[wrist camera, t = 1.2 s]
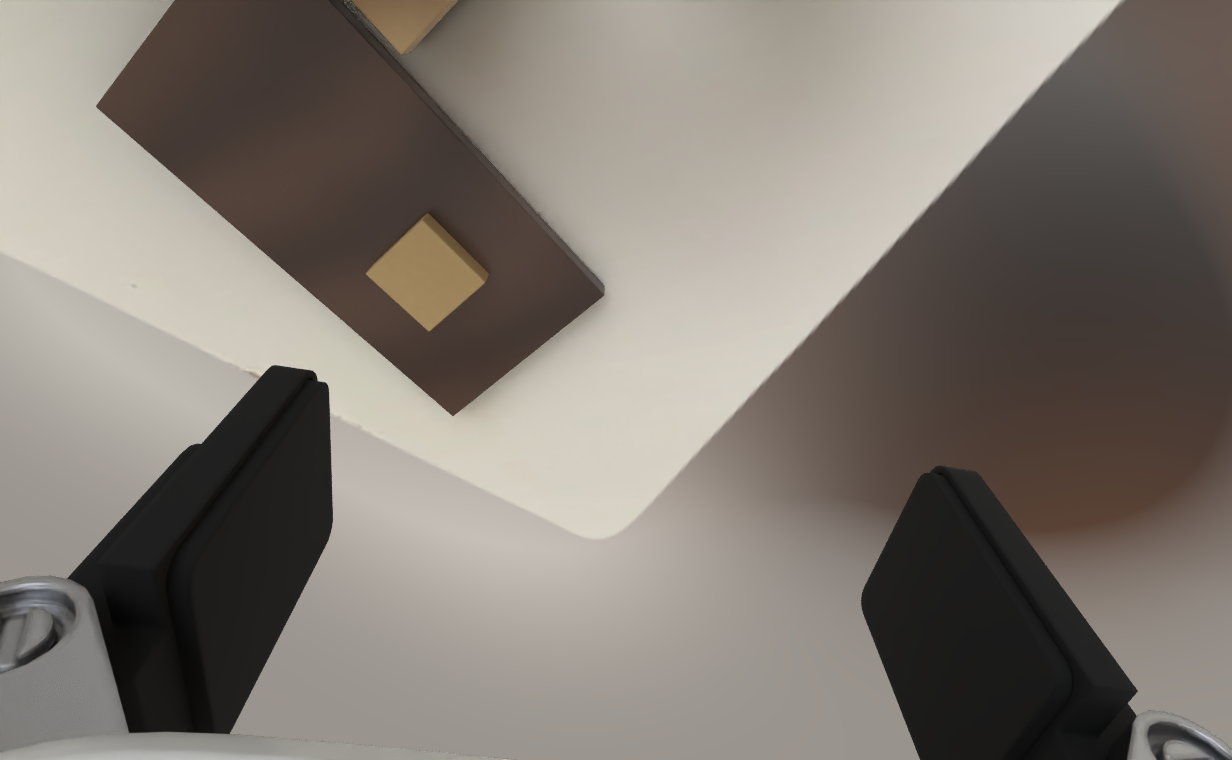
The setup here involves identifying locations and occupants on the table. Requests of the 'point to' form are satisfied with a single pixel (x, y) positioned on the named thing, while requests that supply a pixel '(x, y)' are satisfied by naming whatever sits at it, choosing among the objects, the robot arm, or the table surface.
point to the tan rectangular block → (428, 272)
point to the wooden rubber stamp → (404, 19)
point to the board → (346, 179)
